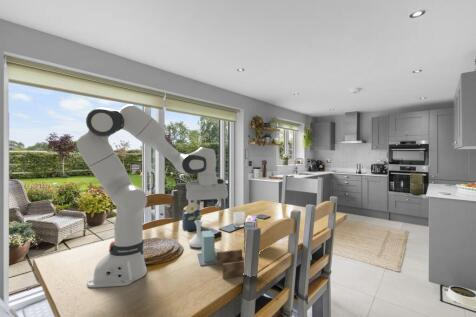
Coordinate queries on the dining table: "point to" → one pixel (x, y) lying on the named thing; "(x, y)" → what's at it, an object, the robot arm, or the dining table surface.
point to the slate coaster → (206, 262)
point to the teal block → (208, 246)
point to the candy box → (249, 225)
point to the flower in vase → (197, 239)
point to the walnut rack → (231, 263)
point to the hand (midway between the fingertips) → (207, 208)
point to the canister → (190, 224)
